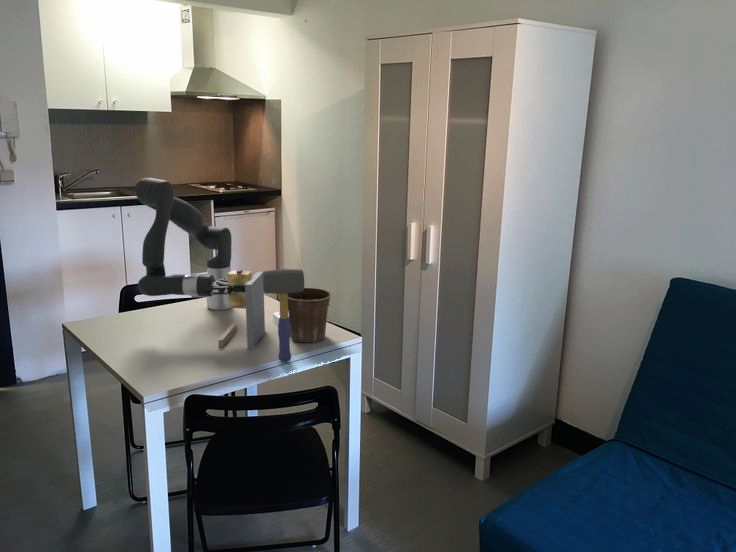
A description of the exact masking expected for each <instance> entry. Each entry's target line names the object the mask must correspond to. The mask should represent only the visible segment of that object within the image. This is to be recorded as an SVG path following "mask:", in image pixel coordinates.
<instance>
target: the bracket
mask: <svg viewBox="0 0 736 552" xmlns="http://www.w3.org/2000/svg"><path fill="white" fill-rule="evenodd" d="M279 318H280V311H279V312H278V311H277V312H273V313H272V321H273V323H274V324H275V325H277V326H278V324H279ZM288 318H289V314H288Z"/></svg>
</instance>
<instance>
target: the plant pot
mask: <svg viewBox="0 0 736 552" xmlns="http://www.w3.org/2000/svg"><path fill="white" fill-rule="evenodd" d="M331 297H332V292H331V291H329V290H326V289H322V288H317V287H304V290H303V291H302V292H294V293H288V314H289V321H290V339H292V340H293V341H295V342H297V343H301V342H303V343H305V344H310V343H311V344H312V343H313V342H314V343H318V342H321V341H323V340H324V339H325V338H326V330H327V322H328V321H327V319H328V310H329V307H330V301H331V300H330V299H331ZM314 343H313V344H314Z"/></svg>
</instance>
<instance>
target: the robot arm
mask: <svg viewBox="0 0 736 552" xmlns="http://www.w3.org/2000/svg"><path fill="white" fill-rule="evenodd" d="M134 192H135V196H136V198H137V200H138V201H139V202H140V203H141V204H142V205H145V206H147V207H149V208H151V209H153V210H155V218H154V220H153V223H152V225H151V226H150V228H149V230H148V231H147V233H146V235H145V236H144V240H143V242H142V253H141V254H142V257H141V258H142V260H141V261H142V265H143V266H144V267H145V270H146V271H145V273H146V274H145V275H144V276H141V278H140V279H139V280H138V281H137V289H138V290H139V292H140V293H141V294H143V295H144V296H147V297H148V296H149V297H159V296H168V295H175V296H176V295H177V296H189V297H206V305H207V306H206V307H207V308H208V309H210V310H213V311H223V310H228V309H229V310H230V308H229V303H228V294H231V293H234V291H235V292H245V286H243V285H235V286H234V285H228V276H227V274H228V273H229V272H230V271H232V270H231V269H232V268H231V261H232V242H233V241H232V233H231V230H230V229H229V228H228V227H226V226H225V227H224V226H212V225H207V224H206V223H204V217H203V214H202V213H201V211H200V210H199V209H198V208H196V206H193V205H192V204H191V203H189V202H187V201H185V200H183V199H181V198H178V197H176V196H175V188H174V187H173V184H172V182H170V181H168V180H164V179H160V178H154V177H143V178H141V179H140V180H138V181H137V182H136V184H135V187H134ZM169 222H172V223H173V224H174V225H175V226H177V227H178V228H180V229H181V230H182V231H184V232H186V233H187V234H189V235H190V236H191V237H193V239H195V240H196V241H197V242H198V243H199V244H200V245H202V247H203V248H205V249H208V250H213V251H214V250H217V254H216V256H213V257H209V258H207V260H206V272H207V274H199V273H198V274H197V273H192V274H191V273H190V274H179V273H178V274H171V275H166V268H165V248H166V245H165V244H166V236H167V232H168V228H169V227H168V226H169Z"/></svg>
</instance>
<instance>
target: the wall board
mask: <svg viewBox="0 0 736 552" xmlns="http://www.w3.org/2000/svg"><path fill="white" fill-rule="evenodd" d="M263 272H264V271H257V272H256V273H255V274H254V275H252V278H251V279H250V280H249V281H248V282H247V283H246V284H245V295H246V309H245V317H246V320H245V321H246V343H247V344H246V346H247V349H254V348H255V346H256V345H257V343H258V342H259V340H260V339H261V337H262V336H263V335H264V333H265V331H266V327H265V326H266V323H265V322H266V321H265V319H266V318H265V317H266V316H265V293H264V291H263ZM237 330H238V325H237V322H236V323H235V322H232V323H231V325H229V327H228V328H227V329H226V330H225V331H224V333H222V335H221V336H220V337H219V339H217V342H218V344H217V345H218V348H224V346H226V345H227V344H228V342H229V341H230V340H231V338H232V337H233V335H234V334H235V333H236V332H237Z"/></svg>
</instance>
